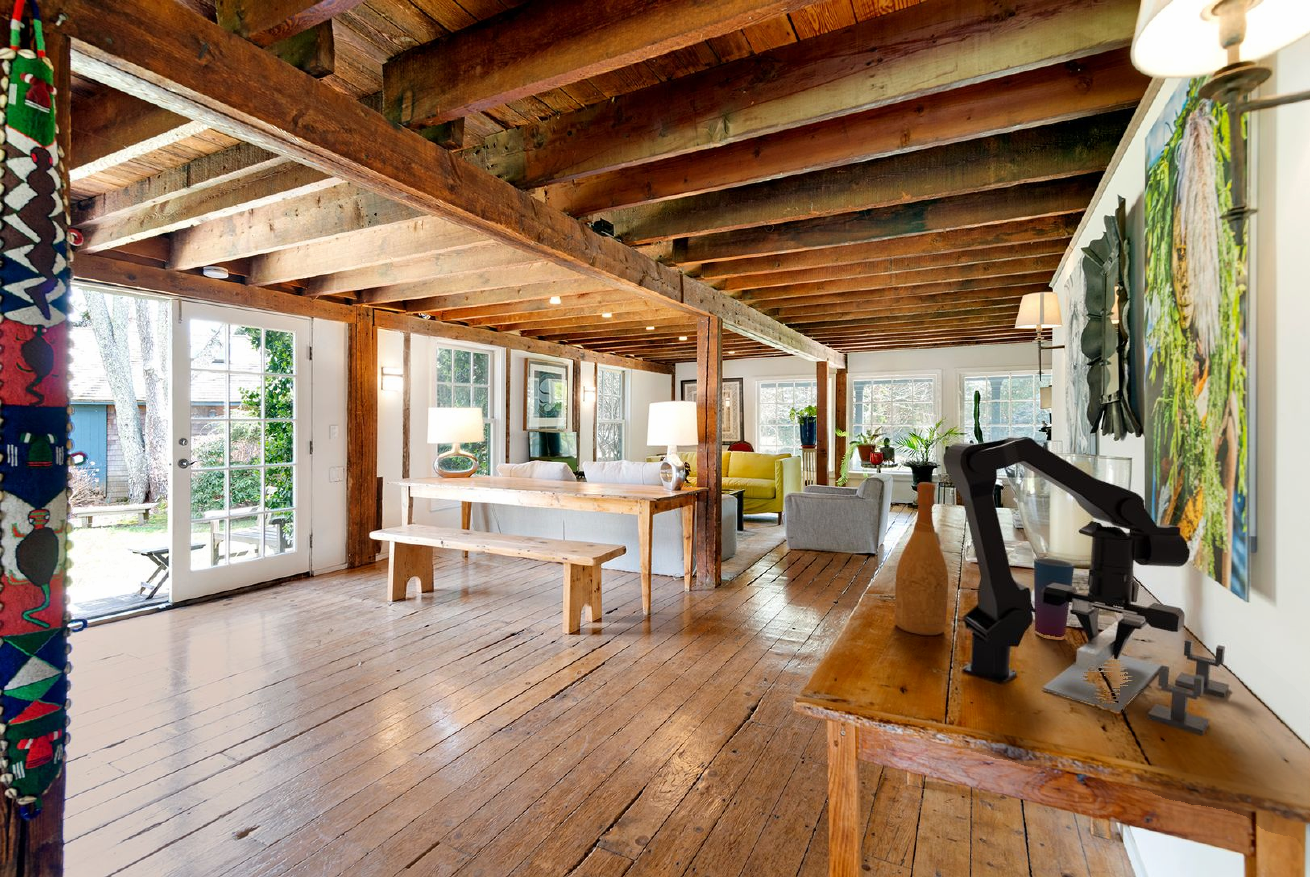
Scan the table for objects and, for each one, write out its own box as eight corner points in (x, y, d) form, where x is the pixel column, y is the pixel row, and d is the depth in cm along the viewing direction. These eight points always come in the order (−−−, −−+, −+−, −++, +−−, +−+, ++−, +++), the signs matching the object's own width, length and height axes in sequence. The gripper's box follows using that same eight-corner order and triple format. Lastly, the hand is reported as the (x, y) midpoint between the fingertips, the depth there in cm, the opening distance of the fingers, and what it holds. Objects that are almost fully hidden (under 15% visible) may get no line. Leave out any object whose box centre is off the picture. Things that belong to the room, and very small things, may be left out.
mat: (1119, 714, 91) (1119, 711, 91) (1042, 690, 98) (1042, 687, 98) (1161, 668, 109) (1161, 665, 109) (1094, 650, 117) (1094, 648, 117)
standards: (1202, 735, 85) (1205, 684, 85) (1147, 718, 90) (1151, 669, 90) (1228, 689, 101) (1231, 645, 101) (1181, 676, 106) (1183, 635, 105)
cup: (1076, 643, 120) (1080, 567, 119) (1037, 640, 121) (1042, 564, 121) (1060, 632, 127) (1065, 559, 126) (1024, 628, 128) (1028, 557, 127)
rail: (1095, 670, 95) (1096, 654, 95) (1076, 665, 97) (1077, 649, 97) (1132, 639, 110) (1133, 625, 110) (1115, 635, 112) (1116, 621, 112)
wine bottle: (952, 639, 120) (960, 486, 119) (899, 635, 122) (906, 483, 121) (937, 623, 130) (944, 481, 129) (888, 619, 132) (895, 478, 130)
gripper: (1194, 569, 101) (1187, 662, 102) (1062, 547, 115) (1057, 630, 116) (1180, 579, 94) (1173, 680, 95) (1042, 555, 108) (1036, 643, 109)
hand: (1105, 656), depth 104 cm, fingers closed on rail, 2 cm apart
